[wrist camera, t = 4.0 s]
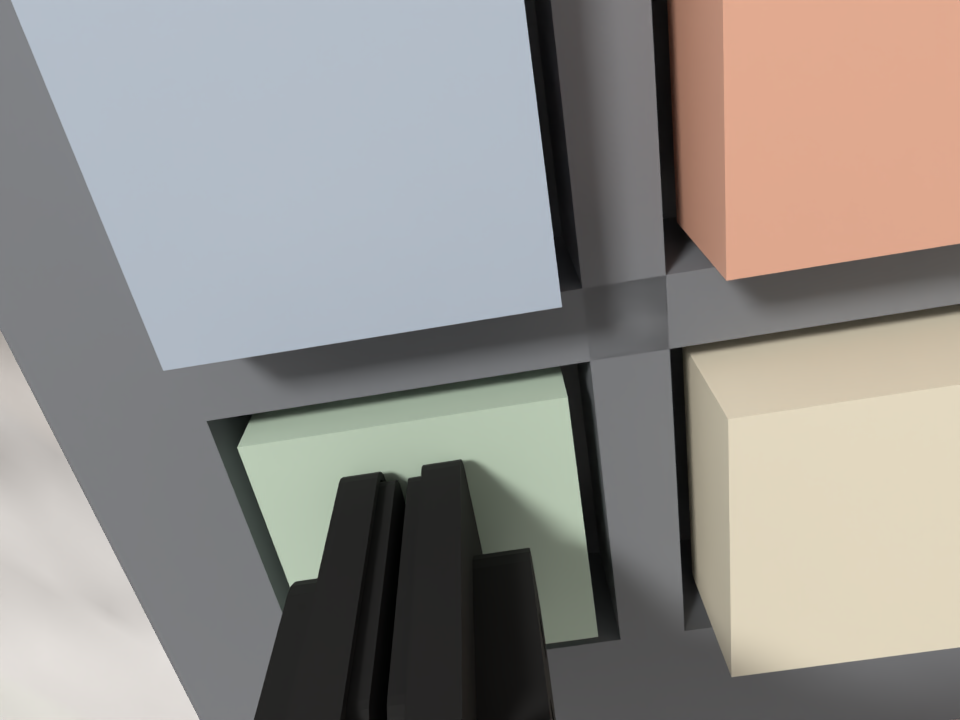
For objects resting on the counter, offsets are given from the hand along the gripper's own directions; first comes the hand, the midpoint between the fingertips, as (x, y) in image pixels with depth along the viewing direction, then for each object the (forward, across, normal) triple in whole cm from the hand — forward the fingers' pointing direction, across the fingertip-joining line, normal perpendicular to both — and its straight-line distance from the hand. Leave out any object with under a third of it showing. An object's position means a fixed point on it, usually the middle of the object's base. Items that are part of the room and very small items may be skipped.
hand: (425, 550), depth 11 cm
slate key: (+1, 0, -6) cm, 6 cm away
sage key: (+2, 0, 0) cm, 2 cm away
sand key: (+1, -6, 0) cm, 6 cm away
